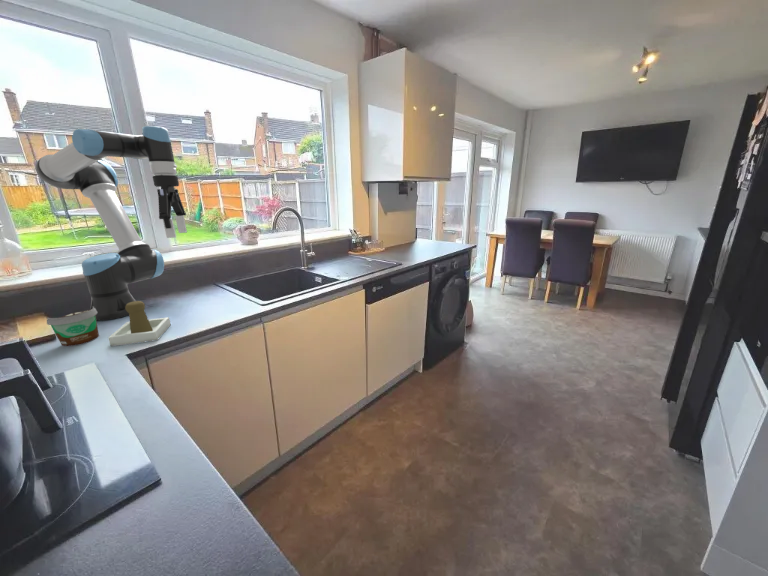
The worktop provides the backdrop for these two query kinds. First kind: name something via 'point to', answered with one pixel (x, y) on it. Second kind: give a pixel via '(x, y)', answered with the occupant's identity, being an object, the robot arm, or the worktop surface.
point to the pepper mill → (138, 317)
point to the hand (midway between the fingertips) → (177, 235)
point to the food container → (75, 327)
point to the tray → (126, 337)
